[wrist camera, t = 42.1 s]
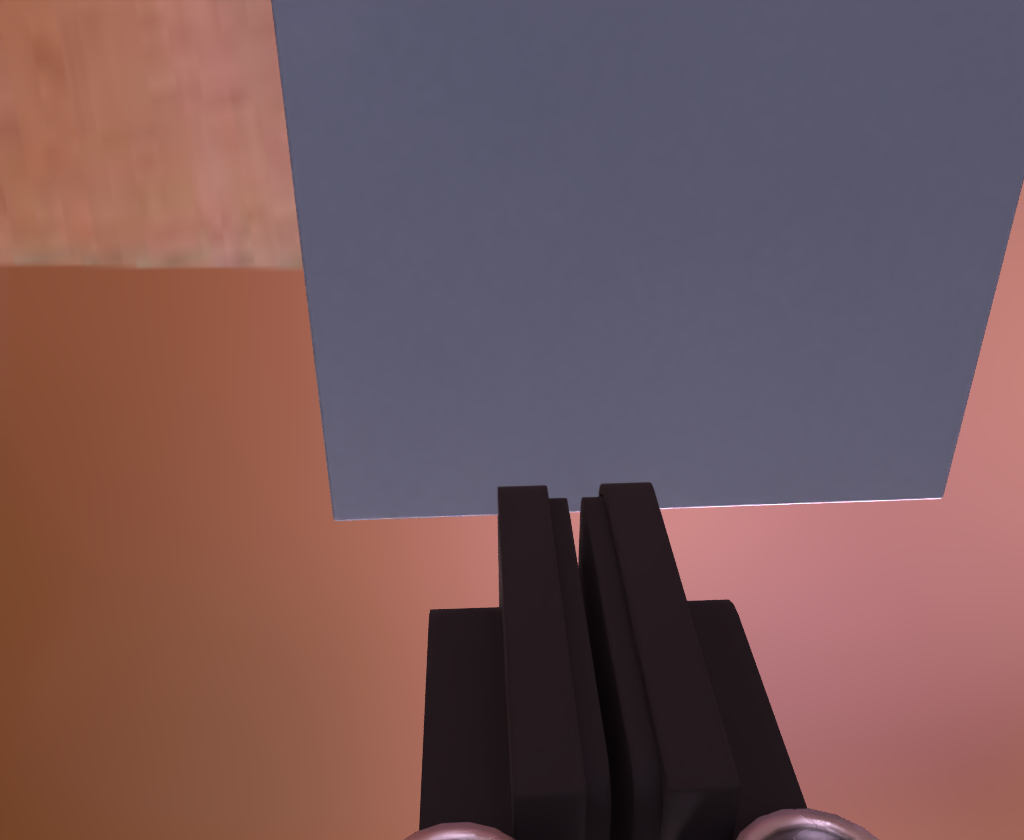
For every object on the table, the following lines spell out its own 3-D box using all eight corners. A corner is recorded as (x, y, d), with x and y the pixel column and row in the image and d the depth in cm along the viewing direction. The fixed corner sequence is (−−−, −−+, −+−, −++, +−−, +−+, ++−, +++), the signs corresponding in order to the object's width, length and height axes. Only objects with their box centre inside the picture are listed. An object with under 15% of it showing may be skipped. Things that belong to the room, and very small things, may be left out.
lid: (336, 504, 25) (333, 522, 24) (265, -102, 18) (258, -101, 17) (930, 482, 26) (943, 500, 25) (1074, -110, 19) (1099, -109, 18)
